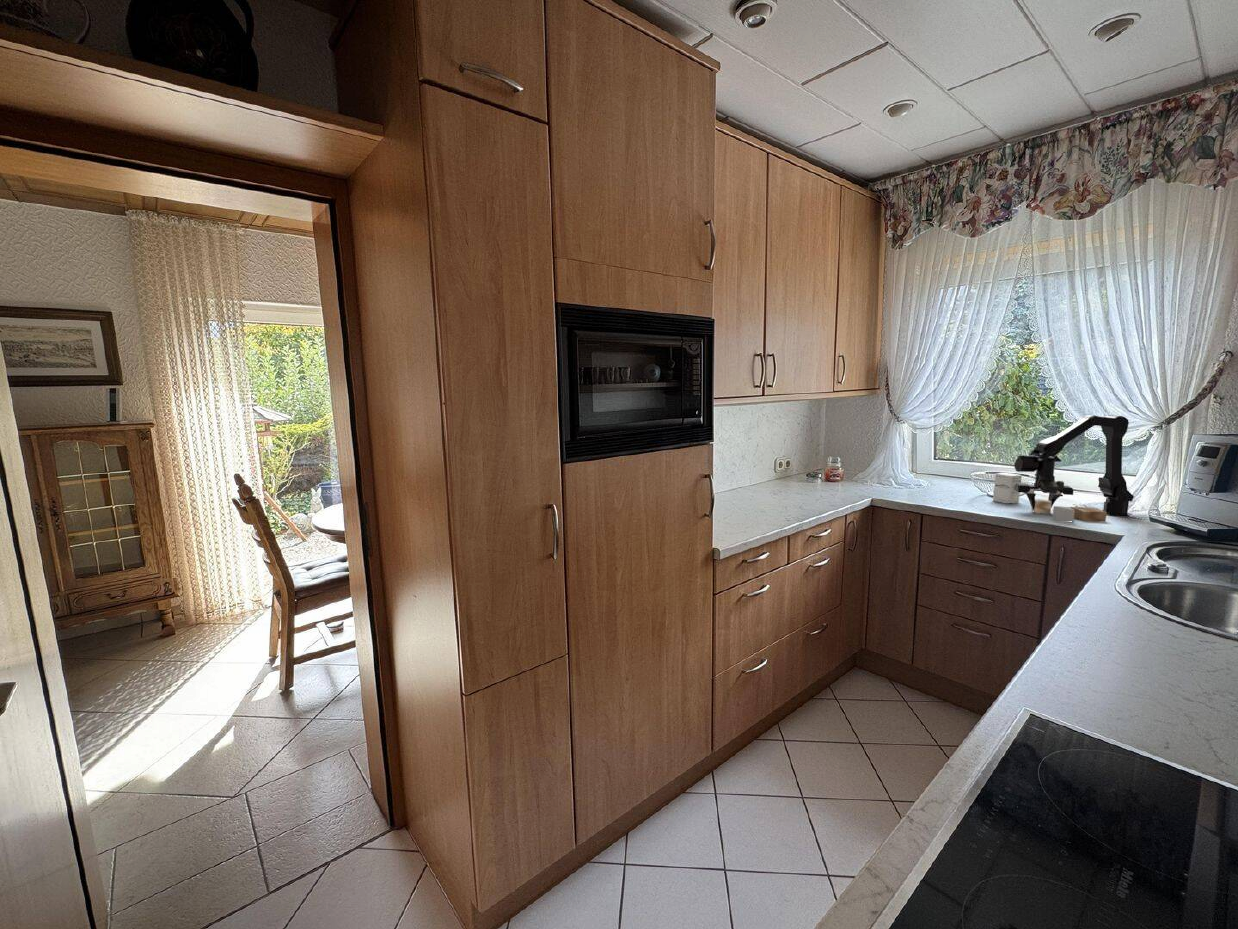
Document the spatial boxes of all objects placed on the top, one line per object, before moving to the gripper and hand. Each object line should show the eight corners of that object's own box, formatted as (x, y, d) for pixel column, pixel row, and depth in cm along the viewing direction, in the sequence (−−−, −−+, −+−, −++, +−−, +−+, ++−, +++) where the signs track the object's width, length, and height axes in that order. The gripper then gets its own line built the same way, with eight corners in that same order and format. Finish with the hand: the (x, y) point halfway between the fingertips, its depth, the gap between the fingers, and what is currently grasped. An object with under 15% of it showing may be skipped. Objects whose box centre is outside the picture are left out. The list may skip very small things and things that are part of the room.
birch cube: (1045, 511, 230) (1046, 499, 230) (1050, 514, 226) (1051, 502, 225) (1031, 510, 232) (1032, 498, 231) (1035, 513, 227) (1036, 501, 227)
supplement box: (992, 501, 251) (994, 473, 249) (1002, 499, 254) (1004, 472, 252) (1009, 504, 244) (1012, 475, 242) (1019, 502, 247) (1022, 474, 245)
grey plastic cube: (1067, 519, 217) (1069, 507, 217) (1073, 522, 213) (1074, 509, 212) (1052, 518, 219) (1053, 506, 218) (1057, 521, 214) (1058, 509, 214)
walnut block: (1091, 517, 221) (1092, 507, 221) (1105, 522, 214) (1106, 512, 213) (1069, 516, 223) (1070, 506, 222) (1081, 521, 215) (1083, 511, 214)
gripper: (1024, 474, 222) (1020, 512, 224) (1081, 476, 216) (1077, 515, 218) (1015, 470, 232) (1011, 506, 235) (1069, 472, 226) (1065, 509, 229)
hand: (1040, 509), depth 229 cm, fingers closed on birch cube, 5 cm apart
